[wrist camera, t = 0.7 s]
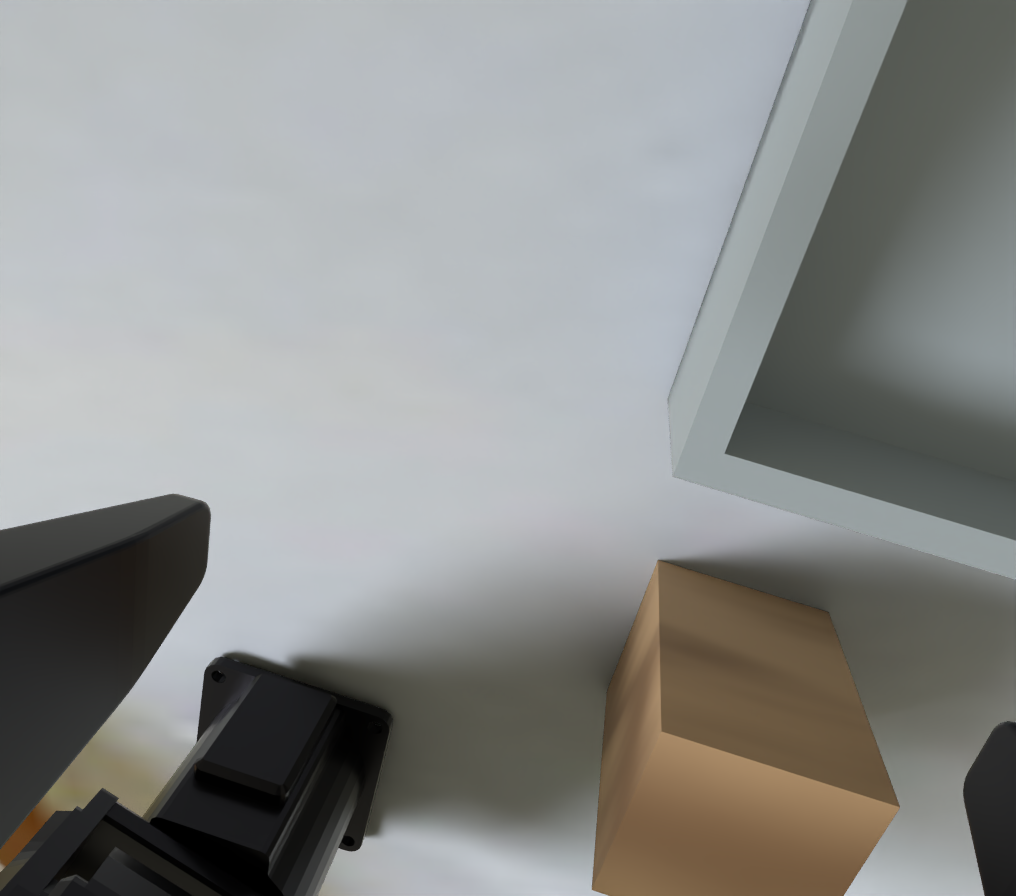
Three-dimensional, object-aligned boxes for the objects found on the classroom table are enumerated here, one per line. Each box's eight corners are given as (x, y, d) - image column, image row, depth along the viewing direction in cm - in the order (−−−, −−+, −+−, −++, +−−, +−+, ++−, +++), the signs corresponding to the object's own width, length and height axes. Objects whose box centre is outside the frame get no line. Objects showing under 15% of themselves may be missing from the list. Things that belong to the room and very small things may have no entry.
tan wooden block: (762, 740, 24) (802, 959, 18) (606, 691, 25) (591, 889, 18) (828, 611, 22) (899, 807, 16) (658, 559, 23) (661, 731, 16)
